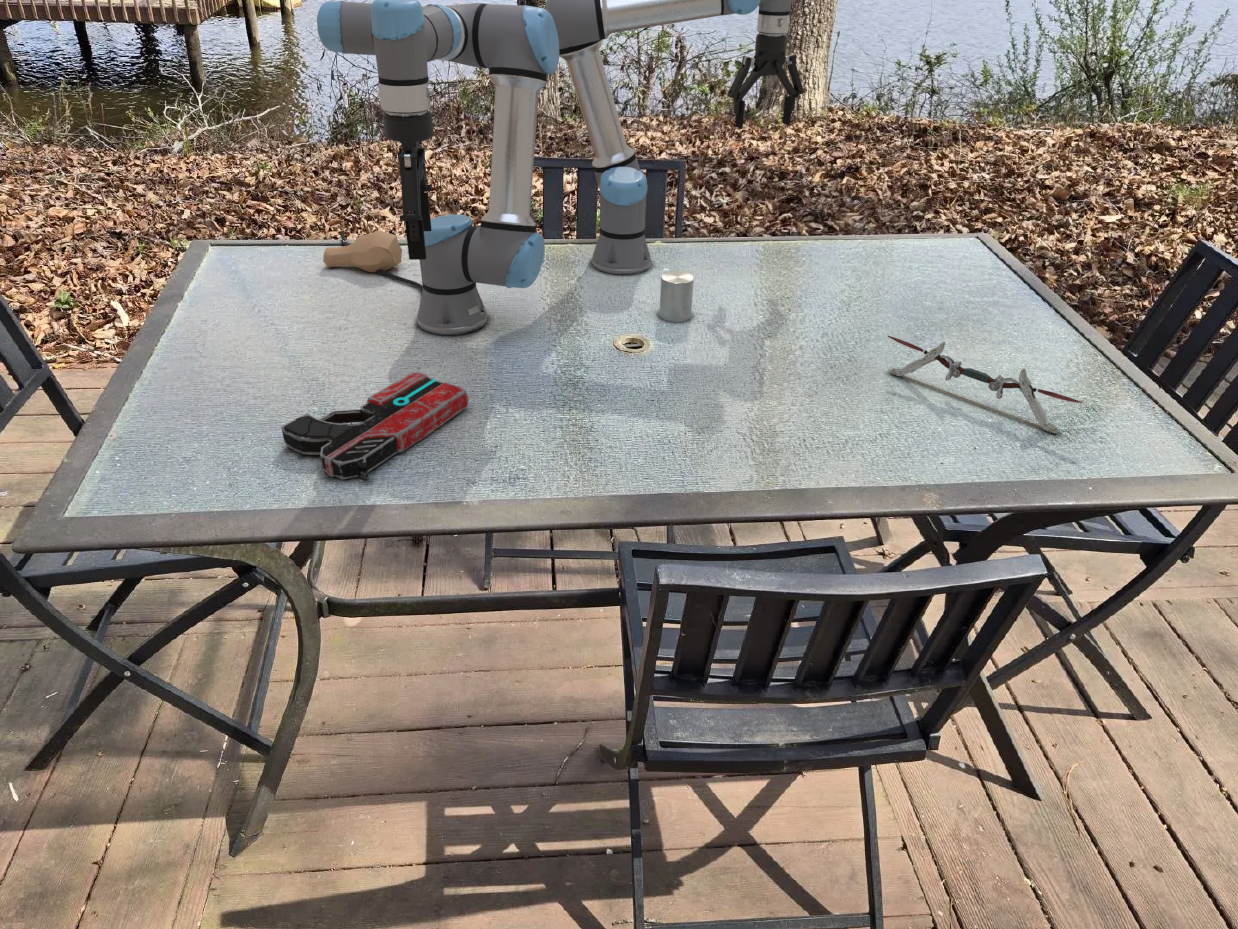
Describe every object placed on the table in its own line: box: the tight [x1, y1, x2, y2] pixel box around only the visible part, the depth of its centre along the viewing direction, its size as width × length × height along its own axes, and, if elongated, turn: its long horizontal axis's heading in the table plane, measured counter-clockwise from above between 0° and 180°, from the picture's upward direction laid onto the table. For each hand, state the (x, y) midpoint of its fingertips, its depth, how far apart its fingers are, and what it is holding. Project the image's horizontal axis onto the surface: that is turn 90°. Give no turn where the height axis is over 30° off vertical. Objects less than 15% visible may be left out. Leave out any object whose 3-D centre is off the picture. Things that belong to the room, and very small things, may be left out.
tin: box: [658, 270, 695, 323], centre depth 200 cm, size 7×7×9 cm
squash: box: [322, 230, 403, 273], centre depth 220 cm, size 11×20×9 cm, turn 90°
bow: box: [887, 335, 1083, 434], centre depth 169 cm, size 39×2×10 cm, turn 47°
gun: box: [280, 371, 469, 481], centre depth 156 cm, size 4×31×19 cm
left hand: (420, 244), depth 148 cm, fingers open, 13 cm apart
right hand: (762, 125), depth 223 cm, fingers open, 13 cm apart
